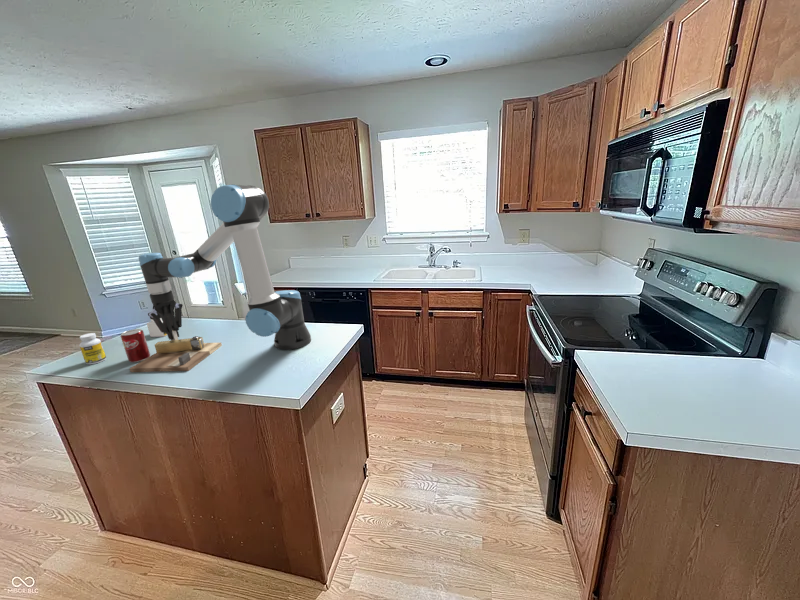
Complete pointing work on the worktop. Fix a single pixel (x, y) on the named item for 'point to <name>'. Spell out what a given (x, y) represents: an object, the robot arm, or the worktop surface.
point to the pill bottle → (92, 349)
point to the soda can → (135, 345)
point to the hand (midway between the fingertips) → (176, 345)
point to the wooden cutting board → (175, 360)
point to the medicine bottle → (155, 328)
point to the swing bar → (179, 345)
